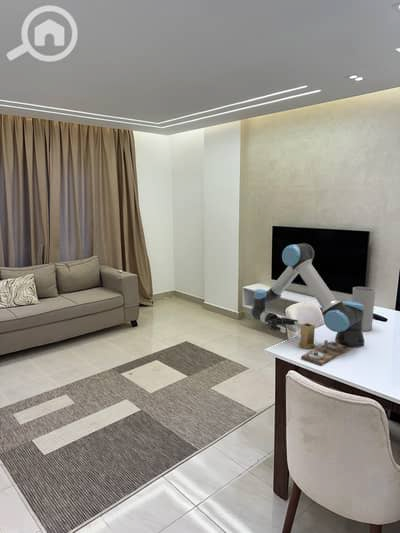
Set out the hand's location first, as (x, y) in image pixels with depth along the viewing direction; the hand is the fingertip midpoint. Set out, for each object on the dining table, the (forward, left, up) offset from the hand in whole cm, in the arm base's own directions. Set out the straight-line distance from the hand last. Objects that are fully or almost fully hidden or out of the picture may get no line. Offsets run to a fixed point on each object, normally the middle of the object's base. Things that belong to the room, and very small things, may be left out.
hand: (294, 328), depth 209 cm
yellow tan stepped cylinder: (-7, +7, -7) cm, 12 cm away
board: (-16, +16, -7) cm, 24 cm away
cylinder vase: (-40, -33, -7) cm, 53 cm away
